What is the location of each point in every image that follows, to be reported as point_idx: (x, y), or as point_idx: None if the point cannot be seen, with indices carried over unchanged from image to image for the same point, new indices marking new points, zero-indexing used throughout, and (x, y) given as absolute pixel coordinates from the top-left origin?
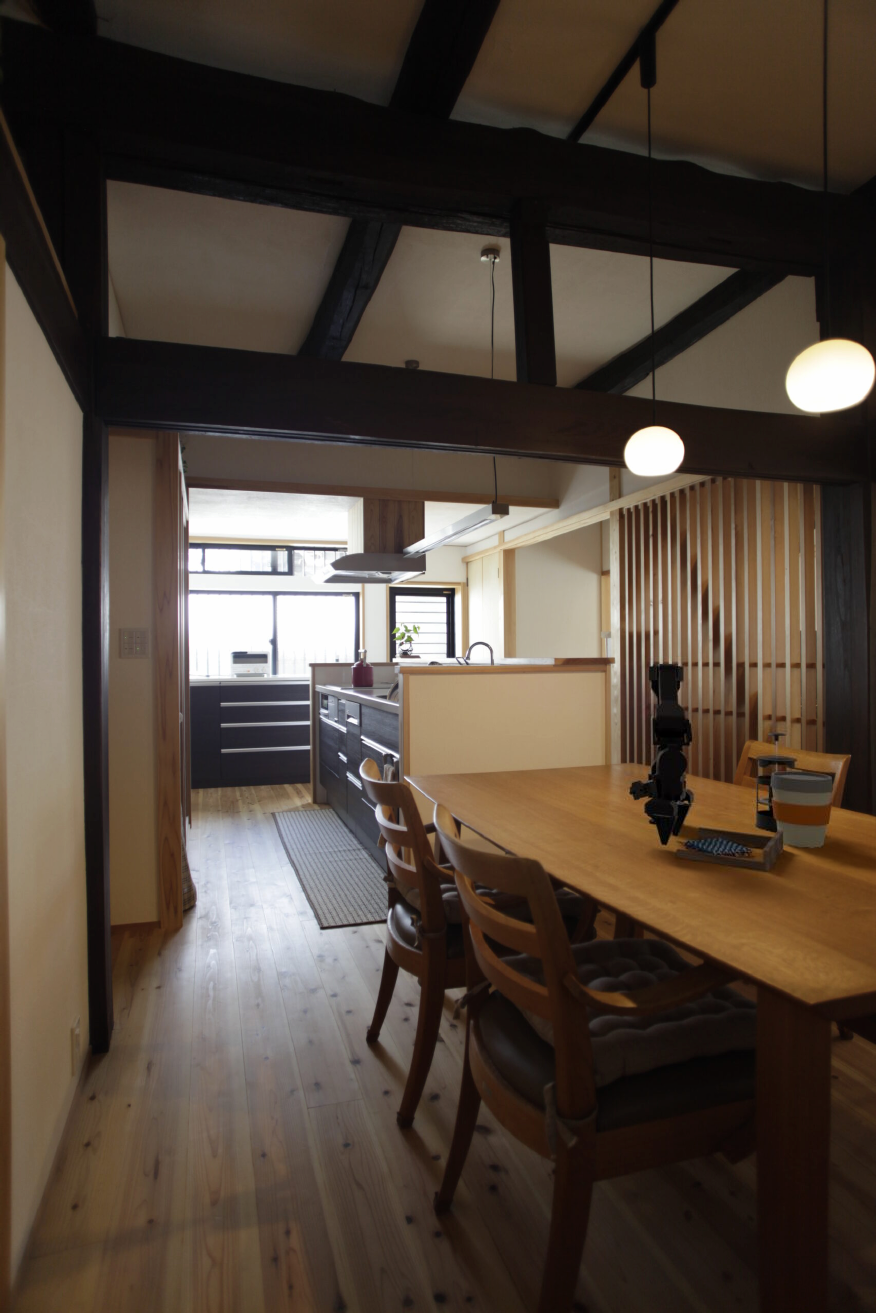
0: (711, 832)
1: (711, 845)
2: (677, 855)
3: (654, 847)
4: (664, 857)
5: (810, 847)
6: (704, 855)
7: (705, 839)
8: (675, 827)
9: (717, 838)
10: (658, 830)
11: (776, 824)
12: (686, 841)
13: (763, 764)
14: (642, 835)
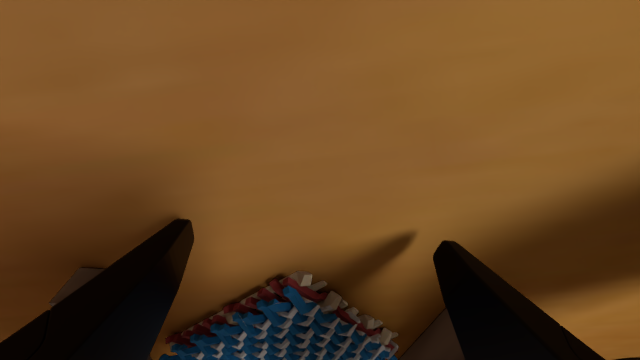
0: (454, 352)
1: (277, 353)
2: (74, 278)
3: (198, 158)
4: (15, 229)
5: None
6: None
7: (358, 340)
8: (465, 296)
9: (384, 357)
10: (56, 311)
11: None
12: (298, 301)
13: None
14: (567, 15)
